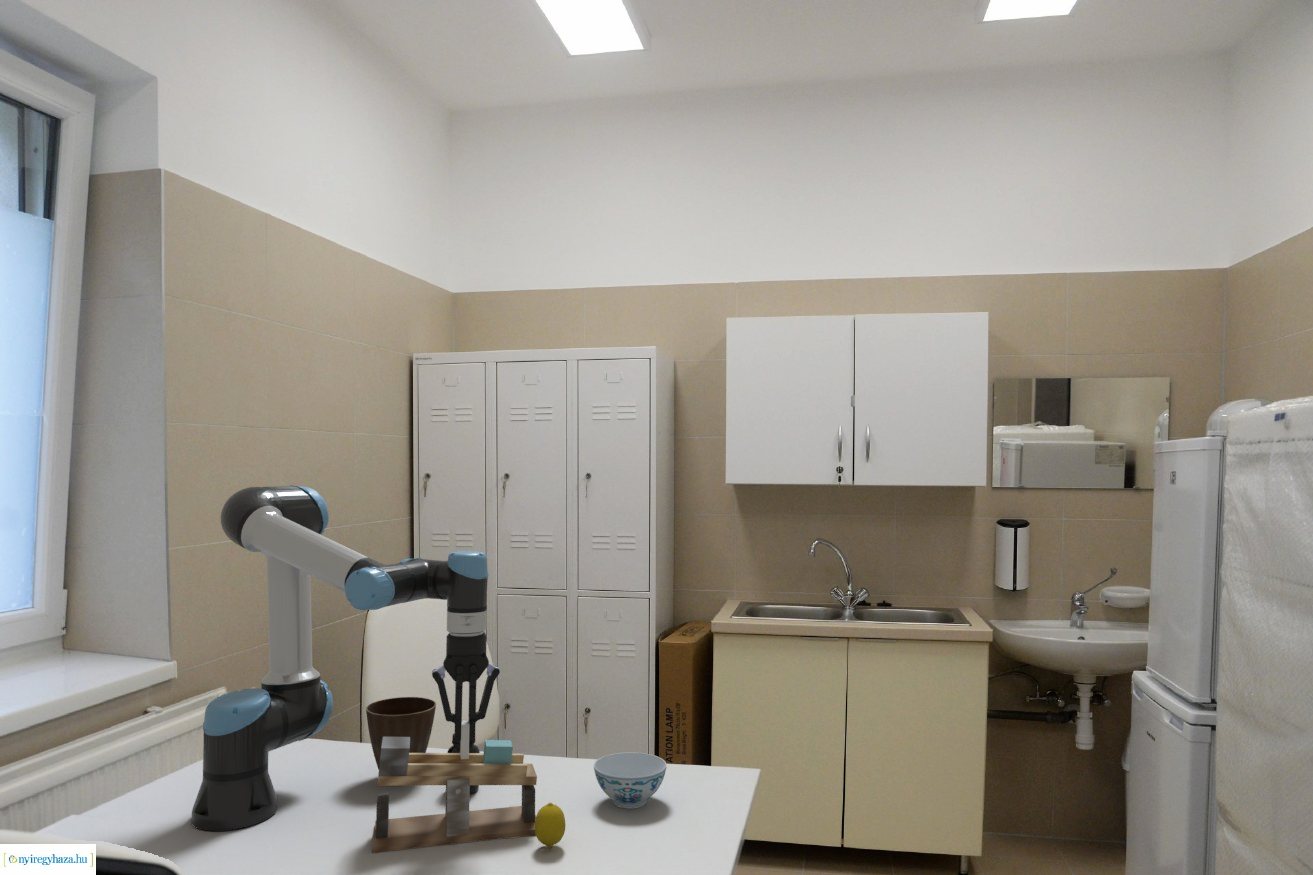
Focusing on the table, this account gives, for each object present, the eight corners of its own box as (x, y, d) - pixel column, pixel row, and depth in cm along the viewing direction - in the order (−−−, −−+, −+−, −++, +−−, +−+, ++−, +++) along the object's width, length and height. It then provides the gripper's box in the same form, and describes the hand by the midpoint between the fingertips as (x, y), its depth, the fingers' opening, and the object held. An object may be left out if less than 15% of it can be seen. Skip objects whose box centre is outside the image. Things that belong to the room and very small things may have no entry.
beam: (377, 785, 156) (381, 748, 156) (379, 771, 163) (383, 736, 163) (536, 784, 163) (539, 749, 164) (531, 771, 170) (534, 737, 171)
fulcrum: (371, 852, 153) (372, 790, 153) (375, 825, 165) (376, 767, 165) (540, 834, 161) (540, 774, 161) (532, 809, 172) (532, 754, 173)
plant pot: (410, 761, 200) (411, 692, 201) (448, 776, 190) (449, 704, 191) (351, 779, 189) (352, 706, 189) (389, 796, 179) (390, 719, 180)
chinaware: (677, 795, 180) (677, 758, 181) (647, 822, 167) (647, 781, 167) (614, 784, 187) (614, 748, 187) (580, 808, 173) (580, 770, 173)
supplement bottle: (471, 798, 178) (471, 739, 179) (440, 795, 180) (441, 737, 180) (484, 786, 185) (484, 729, 186) (454, 783, 187) (455, 727, 187)
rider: (483, 773, 163) (486, 746, 163) (482, 765, 166) (484, 739, 167) (510, 773, 164) (512, 746, 164) (508, 766, 168) (510, 740, 168)
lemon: (550, 838, 159) (550, 794, 160) (571, 846, 156) (571, 802, 156) (528, 848, 155) (528, 803, 155) (549, 857, 151) (549, 811, 152)
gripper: (432, 637, 159) (429, 766, 158) (502, 634, 163) (500, 760, 162) (431, 630, 166) (428, 753, 166) (499, 627, 170) (497, 747, 169)
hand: (464, 756), depth 164 cm, fingers closed
